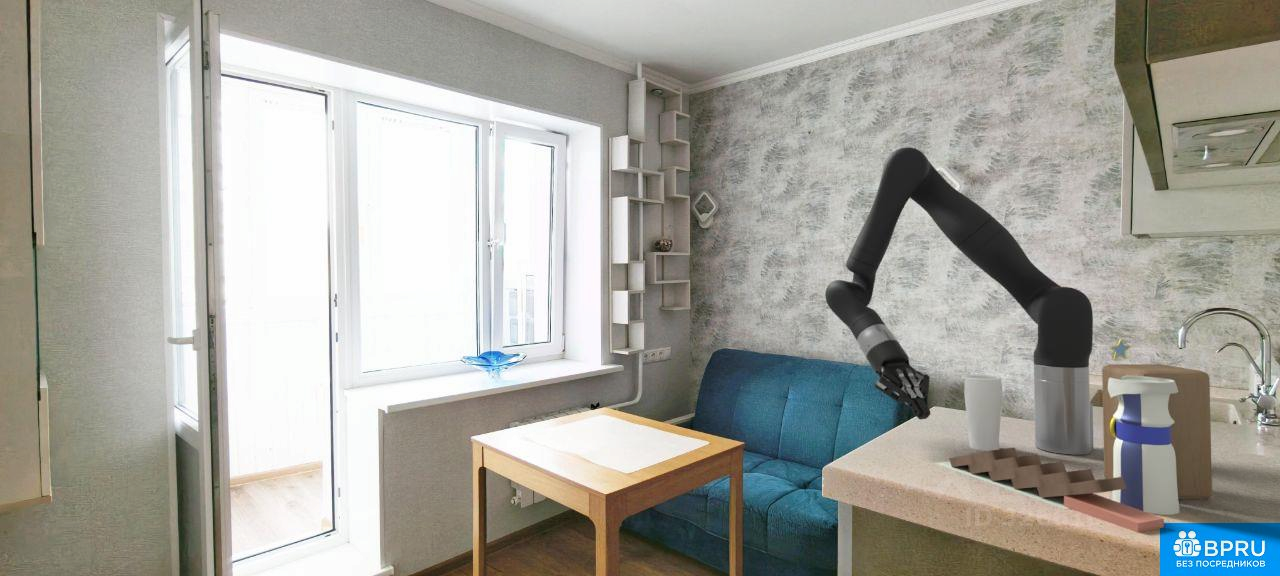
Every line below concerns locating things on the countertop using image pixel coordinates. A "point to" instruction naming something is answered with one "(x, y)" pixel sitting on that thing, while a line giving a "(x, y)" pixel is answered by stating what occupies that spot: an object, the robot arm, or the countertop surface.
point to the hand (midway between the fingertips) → (925, 416)
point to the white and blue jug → (1144, 442)
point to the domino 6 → (1113, 512)
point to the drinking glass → (983, 410)
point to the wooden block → (1185, 432)
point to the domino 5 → (1083, 487)
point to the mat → (1008, 485)
